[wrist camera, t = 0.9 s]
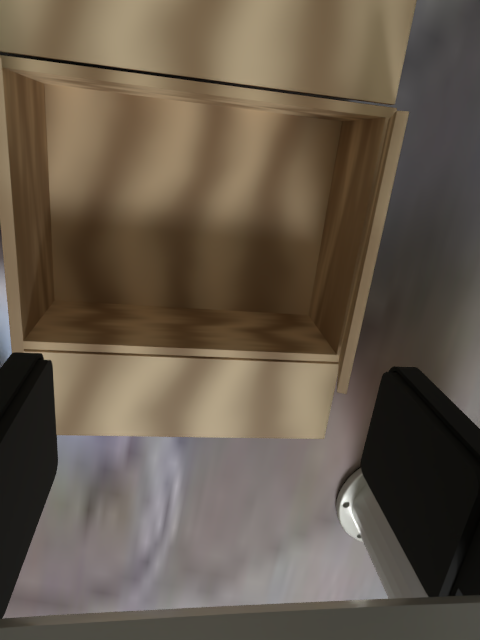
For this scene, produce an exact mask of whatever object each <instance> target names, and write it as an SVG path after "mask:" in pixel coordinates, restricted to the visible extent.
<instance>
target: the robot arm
mask: <svg viewBox="0 0 480 640" xmlns="http://www.w3.org/2000/svg"><path fill="white" fill-rule="evenodd" d="M57 465H58V453H57V435H56V417H55V398H54V380H53V365H52V361H51V360H44V357H43V355H42V353H21V352H13V353H12V354H11V356H10V357H9V358H8V359H7V361H6V362H5V363H4V365H3V366H2V367H1V368H0V640H480V429H479V428H478V427H477V426H476V425H475V424H474V423H473V422H472V421H471V420H470V419H469V418H468V417H467V416H466V415H465V414H464V413H463V412H462V411H461V410H460V409H459V408H458V407H457V406H456V405H455V404H454V403H453V402H452V401H451V400H450V399H449V398H448V397H447V396H446V395H445V394H444V393H443V392H442V391H441V390H440V389H439V388H438V387H437V386H435V385H434V384H433V383H432V382H431V381H430V380H429V379H428V378H427V377H426V376H425V375H424V374H423V373H422V372H421V371H420V370H419V369H418V368H416V367H392V368H391V369H390V370H389V372H385V373H384V374H383V376H382V379H381V383H380V387H379V391H378V395H377V399H376V403H375V407H374V411H373V415H372V418H371V422H370V426H369V430H368V434H367V438H366V442H365V446H364V450H363V454H362V458H361V468H360V469H358V470H357V471H356V472H354V473H353V474H352V475H351V476H350V477H349V478H348V479H347V481H346V482H345V483H344V485H343V486H342V488H341V490H340V492H339V494H338V498H337V501H336V511H337V516H338V519H339V521H340V524H341V526H342V527H343V529H344V530H345V532H346V533H348V534H349V535H350V536H351V537H353V538H354V539H356V540H358V541H362V542H363V543H364V545H365V547H366V549H367V551H368V554H369V556H370V558H371V560H372V563H373V565H374V567H375V569H376V572H377V574H378V576H379V578H380V580H381V583H382V585H383V587H384V589H385V592H386V594H387V596H388V598H389V599H372V600H350V601H328V602H306V603H284V604H263V605H242V606H221V607H201V608H182V609H163V610H143V611H124V612H105V613H86V614H67V615H48V616H34V617H19V618H5V619H2V618H3V616H4V614H5V611H6V609H7V606H8V603H9V600H10V598H11V595H12V592H13V590H14V587H15V584H16V581H17V579H18V576H19V573H20V571H21V568H22V565H23V562H24V560H25V557H26V554H27V552H28V549H29V546H30V543H31V541H32V538H33V535H34V533H35V530H36V527H37V524H38V522H39V519H40V516H41V513H42V511H43V508H44V505H45V503H46V500H47V497H48V494H49V492H50V489H51V486H52V484H53V481H54V478H55V475H56V471H57Z"/></svg>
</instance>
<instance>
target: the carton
mask: <svg viewBox="0 0 480 640" xmlns="http://www.w3.org/2000/svg"><path fill="white" fill-rule="evenodd" d="M416 1H417V0H0V52H3V53H11V54H18V55H26V56H33V57H41V58H48V59H55V60H63V61H70V62H78V63H85V64H92V65H100V66H107V67H115V68H122V69H129V70H137V71H144V72H152V73H159V74H166V75H174V76H181V77H189V78H196V79H204V80H211V81H218V82H226V83H233V84H241V85H248V86H255V87H263V88H270V89H278V90H285V91H292V92H300V93H307V94H315V95H322V96H329V97H337V98H344V99H352V100H359V101H366V102H374V103H381V104H389V105H394V104H395V100H396V96H397V91H398V86H399V81H400V77H401V72H402V67H403V63H404V58H405V53H406V48H407V44H408V39H409V34H410V29H411V25H412V20H413V15H414V10H415V6H416ZM0 58H1V63H2V76H3V88H4V101H5V114H6V127H7V140H8V153H9V166H10V179H11V192H12V205H13V218H14V231H15V244H16V257H17V270H18V283H19V295H20V308H21V321H22V334H23V347H24V353H42V355H43V357H44V360H51V361H52V365H53V380H54V398H55V417H56V435H89V436H159V437H228V438H298V439H324V437H325V432H326V428H327V423H328V418H329V413H330V409H331V404H332V399H333V394H334V390H335V385H336V380H337V375H338V364H339V354H340V349H341V345H342V340H343V335H344V330H345V326H346V321H347V316H348V311H349V306H350V302H351V297H352V292H353V287H354V282H355V278H356V273H357V268H358V263H359V258H360V254H361V249H362V244H363V239H364V235H365V230H366V225H367V220H368V215H369V211H370V206H371V201H372V196H373V191H374V187H375V182H376V177H377V172H378V167H379V163H380V158H381V153H382V148H383V143H384V139H385V134H386V129H387V124H388V120H389V118H390V117H391V116H392V115H393V114H394V113H395V112H396V110H397V108H392V107H384V106H377V105H369V104H362V103H354V102H347V101H339V100H332V99H324V98H317V97H309V96H302V95H295V94H287V93H280V92H272V91H265V90H257V89H250V88H242V87H235V86H227V85H220V84H212V83H205V82H198V81H190V80H183V79H175V78H168V77H160V76H153V75H145V74H138V73H130V72H123V71H115V70H108V69H101V68H93V67H86V66H78V65H71V64H63V63H56V62H48V61H41V60H33V59H26V58H19V57H11V56H4V55H0Z"/></svg>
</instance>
